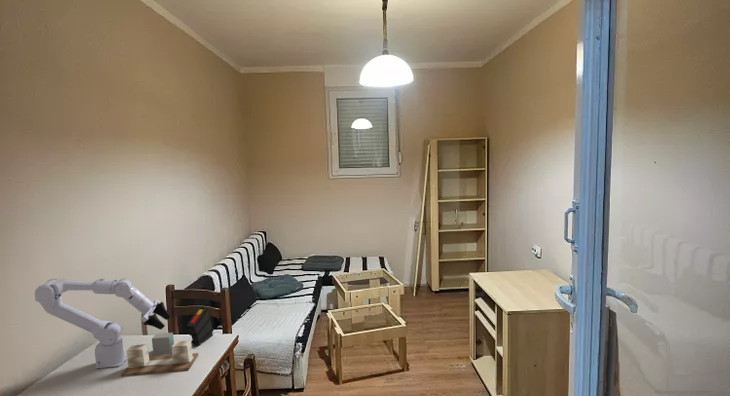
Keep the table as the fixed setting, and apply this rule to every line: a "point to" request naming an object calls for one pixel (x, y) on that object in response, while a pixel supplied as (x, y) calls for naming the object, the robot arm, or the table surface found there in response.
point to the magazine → (200, 327)
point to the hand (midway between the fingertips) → (165, 322)
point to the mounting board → (159, 359)
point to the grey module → (162, 343)
